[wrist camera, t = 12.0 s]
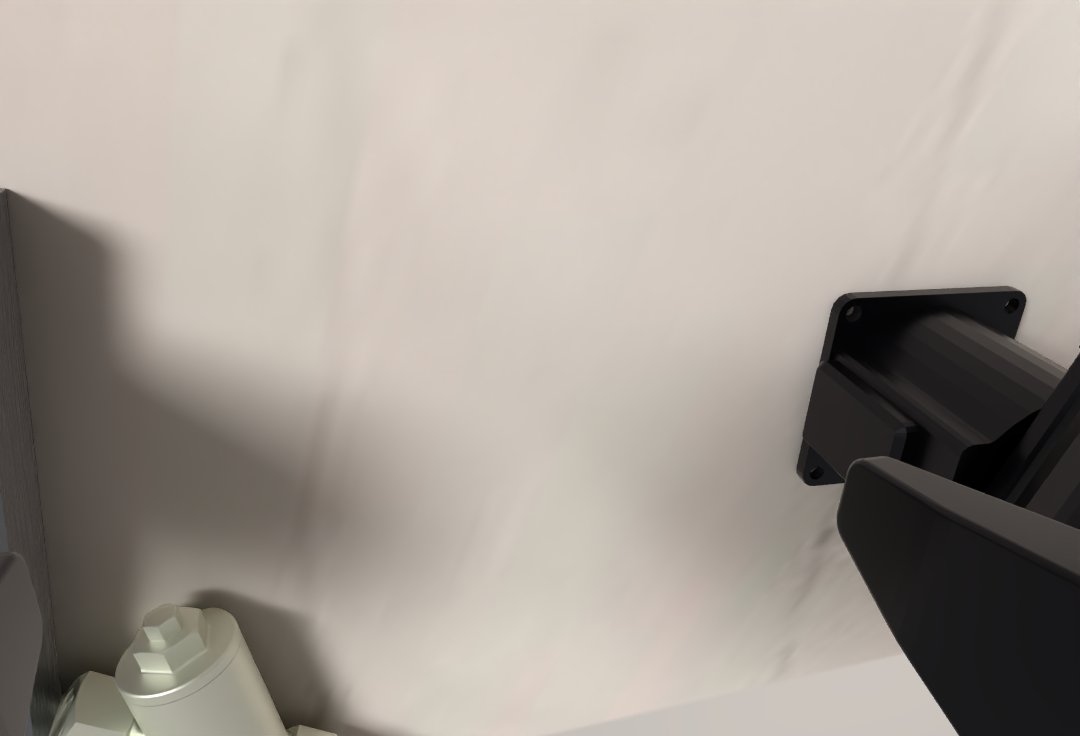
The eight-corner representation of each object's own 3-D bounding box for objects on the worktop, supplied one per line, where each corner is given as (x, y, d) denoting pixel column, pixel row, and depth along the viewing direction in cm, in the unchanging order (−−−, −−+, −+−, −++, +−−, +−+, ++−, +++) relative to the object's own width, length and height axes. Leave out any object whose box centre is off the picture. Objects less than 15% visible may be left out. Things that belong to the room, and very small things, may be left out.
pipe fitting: (142, 554, 24) (41, 733, 25) (121, 646, 20) (4, 847, 22) (389, 634, 27) (289, 788, 29) (406, 724, 24) (292, 894, 25)
